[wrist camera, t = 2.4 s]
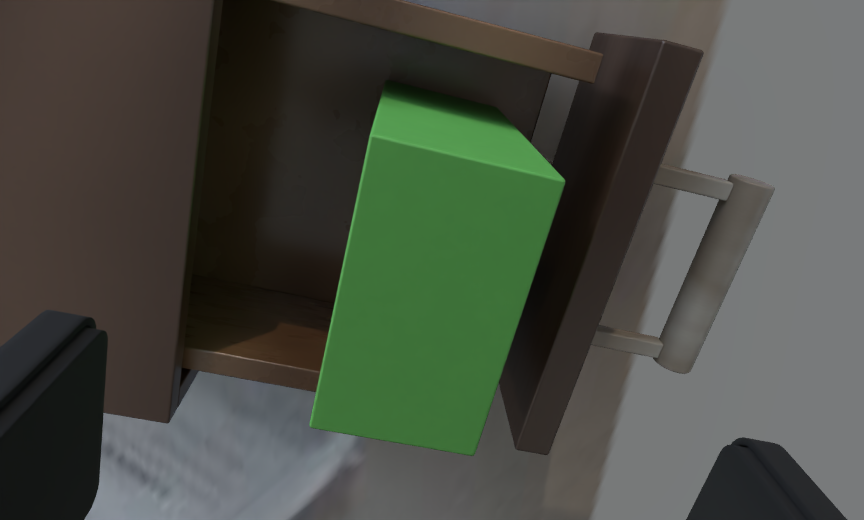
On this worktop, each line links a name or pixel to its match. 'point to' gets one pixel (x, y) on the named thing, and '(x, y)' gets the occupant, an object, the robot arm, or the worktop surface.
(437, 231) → the green rectangular prism
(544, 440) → the drawer
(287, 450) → the worktop surface
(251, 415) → the worktop surface
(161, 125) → the cabinet
